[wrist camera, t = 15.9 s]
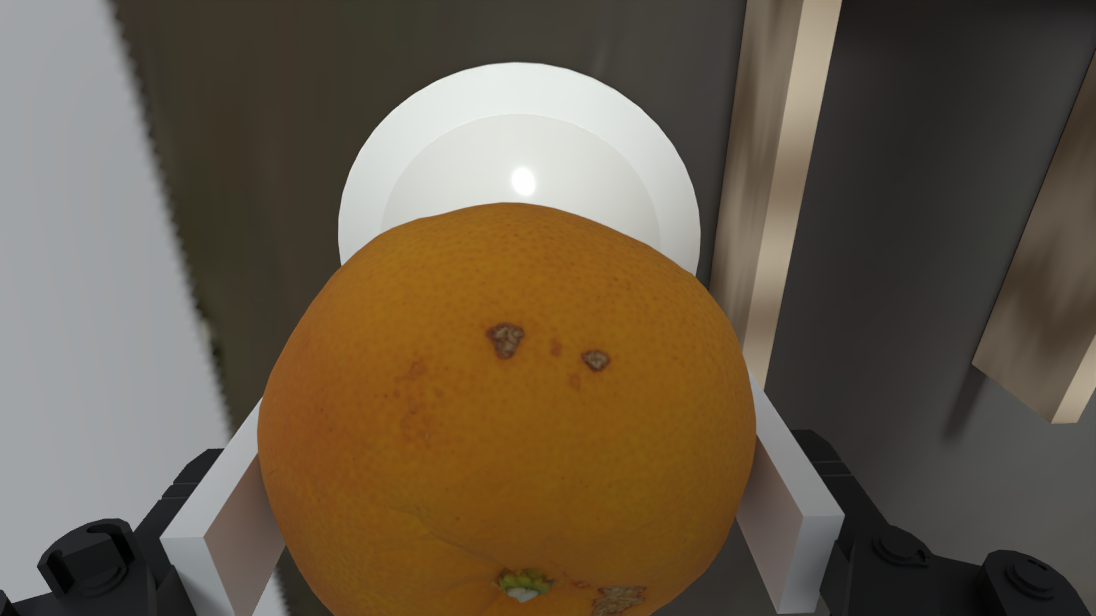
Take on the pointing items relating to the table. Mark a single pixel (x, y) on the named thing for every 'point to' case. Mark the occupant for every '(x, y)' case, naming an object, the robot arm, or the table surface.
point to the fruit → (507, 422)
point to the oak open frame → (776, 194)
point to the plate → (522, 158)
